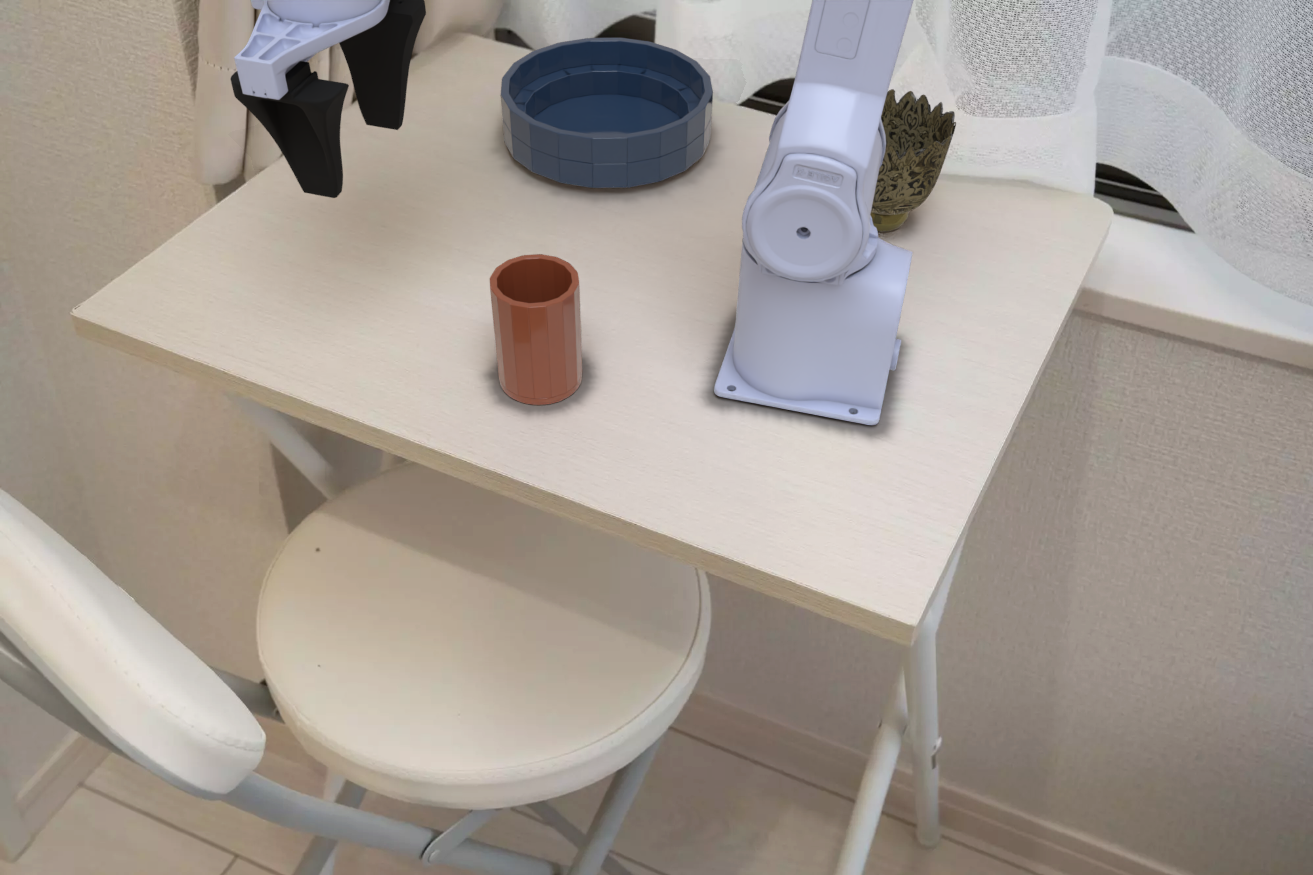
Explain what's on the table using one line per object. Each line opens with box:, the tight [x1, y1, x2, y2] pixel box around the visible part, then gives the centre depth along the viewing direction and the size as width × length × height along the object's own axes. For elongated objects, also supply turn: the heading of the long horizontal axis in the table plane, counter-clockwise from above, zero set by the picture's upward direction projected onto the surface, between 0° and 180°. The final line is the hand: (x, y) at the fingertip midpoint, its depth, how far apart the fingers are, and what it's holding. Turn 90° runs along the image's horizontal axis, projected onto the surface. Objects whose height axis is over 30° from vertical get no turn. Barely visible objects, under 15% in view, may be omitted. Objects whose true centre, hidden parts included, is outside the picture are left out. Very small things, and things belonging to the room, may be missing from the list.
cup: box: [489, 253, 583, 406], centre depth 66 cm, size 5×5×7 cm
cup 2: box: [870, 88, 957, 232], centre depth 78 cm, size 8×7×8 cm
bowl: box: [500, 37, 714, 189], centre depth 87 cm, size 15×15×4 cm
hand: (354, 157), depth 67 cm, fingers open, 7 cm apart
